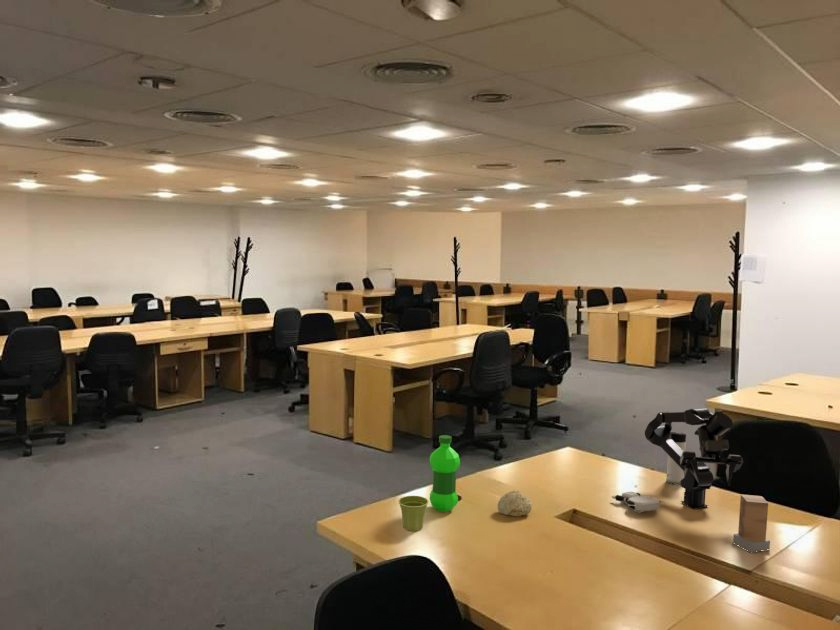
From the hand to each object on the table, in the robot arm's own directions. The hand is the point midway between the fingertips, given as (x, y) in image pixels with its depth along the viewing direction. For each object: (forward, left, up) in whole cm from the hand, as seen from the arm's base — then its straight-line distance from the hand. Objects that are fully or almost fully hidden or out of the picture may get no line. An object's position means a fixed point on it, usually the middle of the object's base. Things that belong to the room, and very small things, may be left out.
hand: (714, 484), depth 218 cm
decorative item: (+58, -27, -14) cm, 66 cm away
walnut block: (+1, +18, -10) cm, 21 cm away
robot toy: (+15, -19, -14) cm, 28 cm away
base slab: (+1, +18, -13) cm, 22 cm away
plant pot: (+95, -24, -14) cm, 99 cm away
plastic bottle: (+80, -36, -14) cm, 89 cm away
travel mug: (-17, -37, -14) cm, 43 cm away
